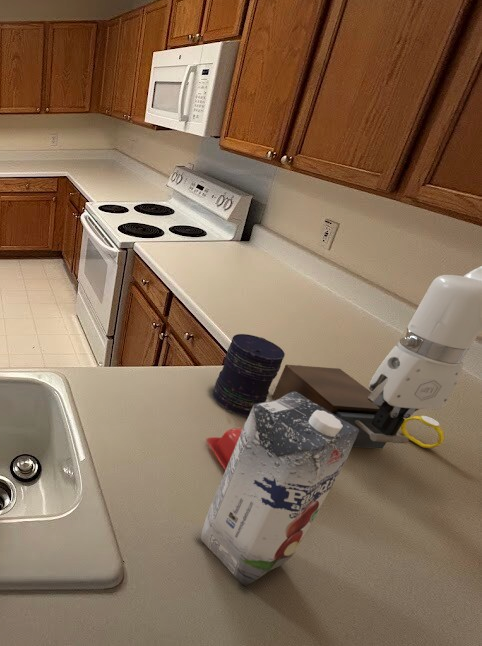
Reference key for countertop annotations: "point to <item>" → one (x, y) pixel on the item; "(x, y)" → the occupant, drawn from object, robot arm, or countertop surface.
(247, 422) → the juice carton
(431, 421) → the watch
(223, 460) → the butter dish
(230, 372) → the storage jar
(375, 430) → the drawer
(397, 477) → the countertop surface
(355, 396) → the cabinet
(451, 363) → the robot arm
